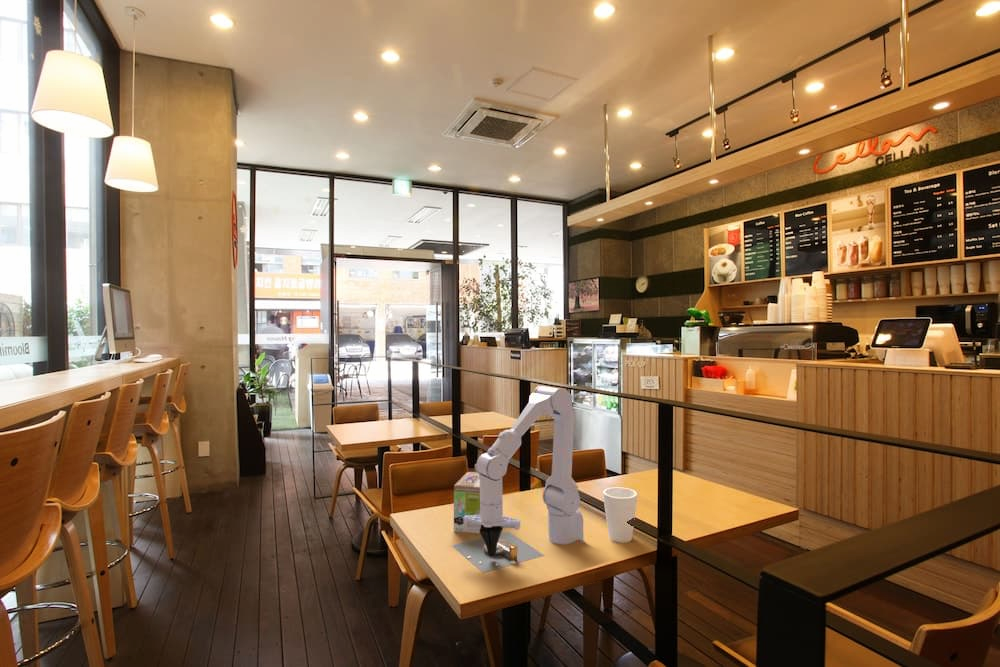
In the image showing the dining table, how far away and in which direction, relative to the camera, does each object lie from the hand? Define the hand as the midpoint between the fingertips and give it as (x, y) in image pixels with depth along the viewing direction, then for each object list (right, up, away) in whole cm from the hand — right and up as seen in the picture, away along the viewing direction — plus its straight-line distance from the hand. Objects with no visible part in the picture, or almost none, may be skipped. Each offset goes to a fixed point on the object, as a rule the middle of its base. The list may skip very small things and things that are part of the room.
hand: (492, 554), depth 131 cm
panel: (+1, -3, +6) cm, 7 cm away
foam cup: (+36, -2, +16) cm, 40 cm away
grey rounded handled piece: (+3, -1, +4) cm, 5 cm away
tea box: (-5, -3, +25) cm, 26 cm away
